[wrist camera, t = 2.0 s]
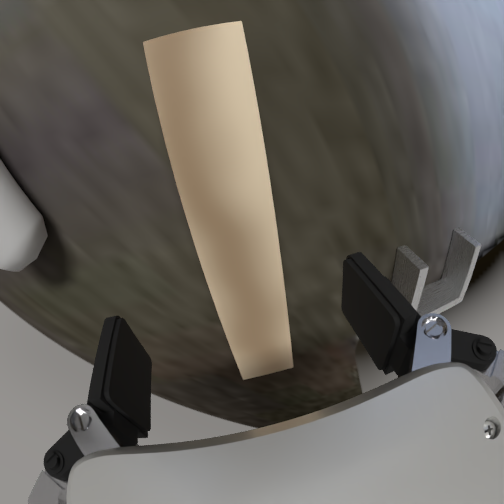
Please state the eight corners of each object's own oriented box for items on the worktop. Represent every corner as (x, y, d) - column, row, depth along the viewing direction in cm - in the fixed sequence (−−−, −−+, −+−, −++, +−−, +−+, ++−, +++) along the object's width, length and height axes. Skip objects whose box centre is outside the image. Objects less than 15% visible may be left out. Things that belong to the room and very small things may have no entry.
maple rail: (229, 43, 12) (241, 21, 8) (278, 322, 24) (293, 367, 20) (160, 59, 12) (143, 42, 8) (234, 333, 24) (243, 379, 20)
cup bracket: (459, 227, 22) (481, 244, 19) (444, 283, 26) (461, 301, 23) (397, 247, 22) (420, 270, 19) (386, 307, 26) (403, 330, 23)
